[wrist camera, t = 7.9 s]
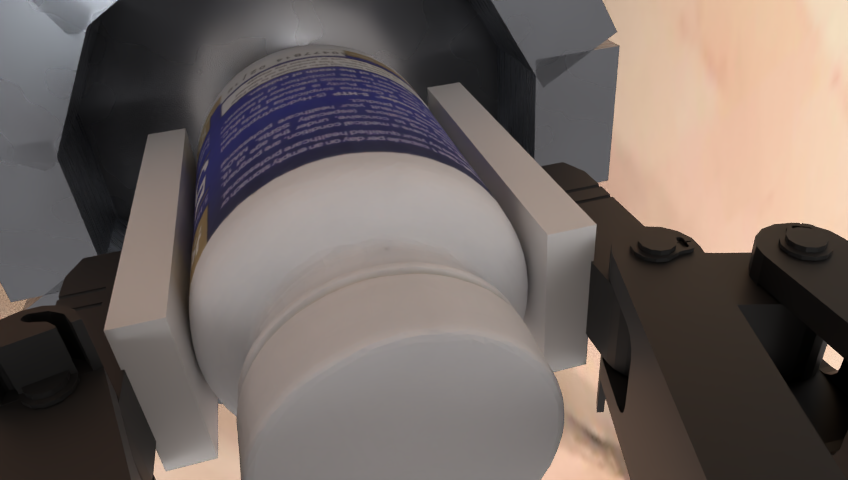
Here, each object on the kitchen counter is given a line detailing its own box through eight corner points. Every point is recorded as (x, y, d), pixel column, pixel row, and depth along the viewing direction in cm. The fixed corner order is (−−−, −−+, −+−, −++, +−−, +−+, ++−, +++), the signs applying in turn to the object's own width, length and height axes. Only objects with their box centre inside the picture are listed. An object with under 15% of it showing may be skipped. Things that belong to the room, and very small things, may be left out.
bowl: (-181, -206, 12) (-307, -216, 9) (583, -262, 15) (672, -283, 12) (101, 388, 20) (82, 480, 17) (559, 282, 23) (608, 347, 20)
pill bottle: (149, 99, 14) (66, 413, 6) (385, 0, 14) (575, 193, 6) (263, 287, 17) (300, 648, 9) (456, 204, 17) (640, 493, 9)
